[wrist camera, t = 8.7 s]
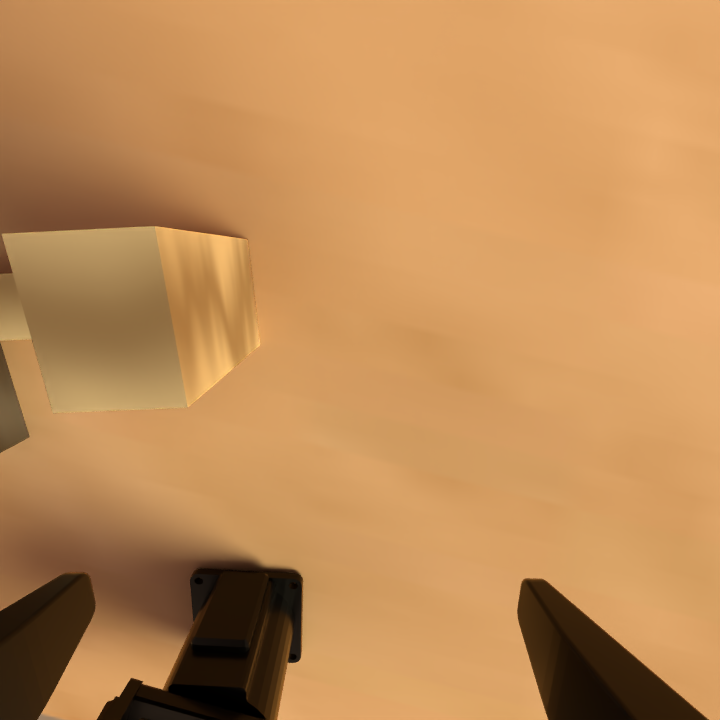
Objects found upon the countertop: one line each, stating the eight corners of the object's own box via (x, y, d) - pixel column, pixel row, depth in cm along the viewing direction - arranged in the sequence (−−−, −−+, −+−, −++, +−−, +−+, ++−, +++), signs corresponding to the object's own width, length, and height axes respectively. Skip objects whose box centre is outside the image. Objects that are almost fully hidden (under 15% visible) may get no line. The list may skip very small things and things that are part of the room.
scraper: (270, 427, 20) (211, 536, 12) (0, 438, 20) (-226, 551, 12) (234, 129, 16) (115, 12, 8) (-97, 147, 16) (-506, 51, 9)
